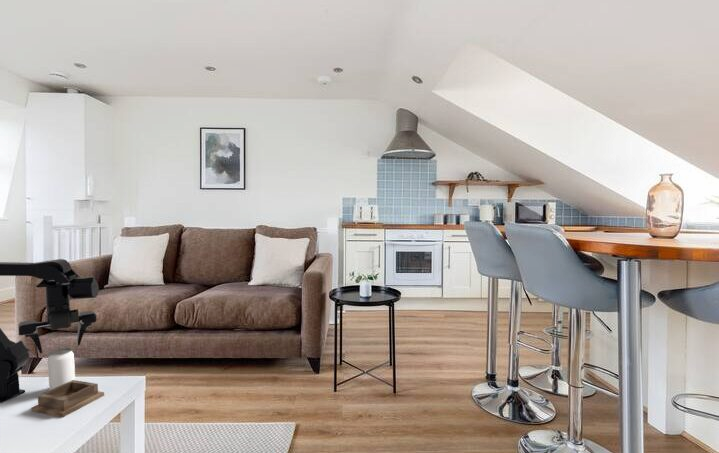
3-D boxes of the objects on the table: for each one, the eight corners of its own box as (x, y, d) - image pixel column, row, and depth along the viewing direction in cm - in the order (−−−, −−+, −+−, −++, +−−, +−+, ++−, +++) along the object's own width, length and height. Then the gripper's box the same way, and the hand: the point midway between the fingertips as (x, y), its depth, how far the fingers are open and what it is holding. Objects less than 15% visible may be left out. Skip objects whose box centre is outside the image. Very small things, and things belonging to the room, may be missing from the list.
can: (61, 394, 114) (58, 356, 113) (44, 392, 115) (41, 354, 114) (80, 384, 120) (78, 348, 120) (64, 382, 121) (62, 347, 121)
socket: (31, 410, 105) (30, 397, 105) (74, 390, 116) (74, 378, 116) (63, 417, 101) (62, 402, 101) (104, 395, 113) (103, 382, 113)
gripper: (17, 311, 104) (20, 365, 104) (98, 299, 116) (100, 348, 117) (17, 303, 112) (20, 354, 113) (92, 293, 124) (94, 339, 125)
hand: (60, 349), depth 117 cm, fingers open, 9 cm apart
